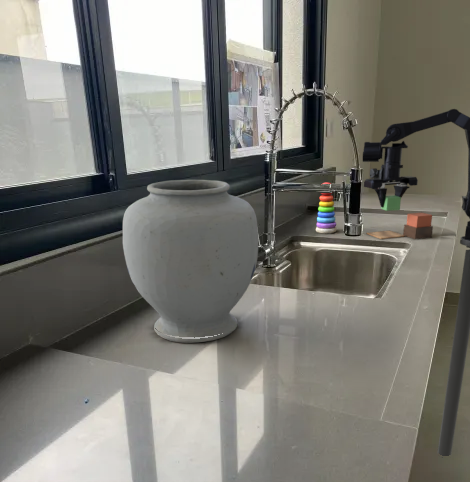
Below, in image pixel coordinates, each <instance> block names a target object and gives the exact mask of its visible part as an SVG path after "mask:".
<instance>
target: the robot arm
mask: <svg viewBox="0 0 470 482" xmlns="http://www.w3.org/2000/svg"><path fill="white" fill-rule="evenodd" d="M449 123H452V124H453V125H455V126H457V127H459V128H461V129H462V130H464V134H465V139H466V140H465V141H466V144H467V151H468V152H467V153H468V154H467V156H468V157H467V159H468V160H467V192H466V195H461V201H462V204H461V209H462V211H464V214H465V215H466V217H468V218H469V220H468V221H467V222H466V226H465V232H464V236H461V237H462V238H465V239H468V240H470V116H468V115H466V114H464V113H462V112H460V111H459V109H457V108H451V109H449V110H447V111H443V112H440V113H437V114H433V115H430V116H427V117H423V118H420V119H416V120H413V121H406V122H396V123H393V124H391V125H389V126H388V127H387V129H386V132H385V136H384V137H383V138H382V139H381V140H380V141H376V142H375V141H371V142H370V141H365V142H364V143H363V151H362V163H378V162H380V160H383V164H381V166H380V169H378V168H371V169H369V178H365V180H364V181H363V188H367V189H371V190H374V191H375V193H376V195H377V197H378V201H379V205H380V208H381V207H384V203H385V198H386V196H387V191H388V188H387V187H386V186H392V185H393V188H394V195H395V196H398V197H401V199H402V198H403V196H404V195H405V193H406V191H407V190H408V189H410V188H411V187H412V186H418V182H419V179H418V178H417V176H412V175H403V176H401V169H403V168H404V164H402V155H403V149H408V148H409V146H408V144H407V143H406V142H405V140H403V139H405V138H407V137H409V136H411V135H413V134H416V133H417V132H421V131H424V130H428V129H431V128H435V127H438V126H442V125H445V124H449ZM401 140H402V141H401ZM399 141H401V142H399ZM390 143H391V145H390V146H389V145H388V144H390ZM387 145H388V146H387ZM383 157H384V159H383ZM408 185H409V186H408Z"/></svg>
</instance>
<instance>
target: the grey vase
mask: <svg viewBox="0 0 470 482" xmlns="http://www.w3.org/2000/svg"><path fill="white" fill-rule="evenodd" d="M146 190H147V191H148V192H149V194H148V195H147V196H144V197H143V198H140V199H138V200H136V201H134V202H133V203H132V204H130V205H129V206H128V207H127V208H126V209H125V212H124V214H123V218H122V249H123V254H124V260H125V264H126V268H127V272H128V275H129V277H130V279H131V282H132V283H133V285H134V288H135V289H136V290H137V292H138V293H139V295H140V296H141V297H142V298H143V299H144V300H145V301H146V302H147V304H149V305H150V306H151V308H153V309H154V311H156V312H157V314H158V315H159V316H160V317H158V319H157V320H156V321H155V323H154V326H153V329H154V332H155V333H156V334H157V336H158V337H161V338H162V339H164V340H167V341H170V342H174V343H183V344H184V343H187V344H191V343H192V344H195V343H205V342H210V341H216V340H219V339H222V338H225V337H227V336H229V335H231V334H232V333H233V332H234V331H236V329H237V327H238V320H237V318H236V317H235V316H234V315H233V314H232V313H231V311H232V310H233V309H234V308H235V306H237V304H238V303H239V301H241V299H242V298H243V296H244V295H245V294H246V291H247V290H248V289H249V286H250V284H251V282H252V279H253V277H254V274H255V272H256V268H257V264H258V263H257V262H258V257H259V227H258V219H257V215H256V212H255V209H254V208H253V207H252V205H251V204H250V202H248V201H247V200H245V199H244V198H241V197H239V196H236V195H231V194H229V193H228V191H229V190H230V184H229V183H227V182H226V181H221V180H209V179H175V180H174V179H172V180H163V181H159V182H158V181H157V182H153V183H150V184H148V185H147V187H146ZM155 328H156V329H157V330H158V331H160V332H162V333H164V334H167V335H172V336H179V337H194V338H195V337H205V336H213V337H208V338H200V339H182V338H175V337H170V336H167V335H164V334H162V333H160V332H158V331H157V330H156V329H155ZM222 333H223V334H222ZM218 334H220V335H218ZM214 335H217V336H214Z"/></svg>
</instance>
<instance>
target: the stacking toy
mask: <svg viewBox="0 0 470 482" xmlns="http://www.w3.org/2000/svg"><path fill="white" fill-rule="evenodd" d="M322 184H332V183H331V182H323V183H322ZM320 194H321V195H320V196H319V203H318V205H319V206H318V208H317V210H318V212H317V218H316V221H317V222H316V227H315V231H316V233H318V234H327V235H328V234H334V233H336V232H337V230H338V229H337V222H336V217H335V215H336V213H335V206H334V205H335V202H334V201H333V200H334V196H333V195H332V194H333V192H332V193H320Z"/></svg>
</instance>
